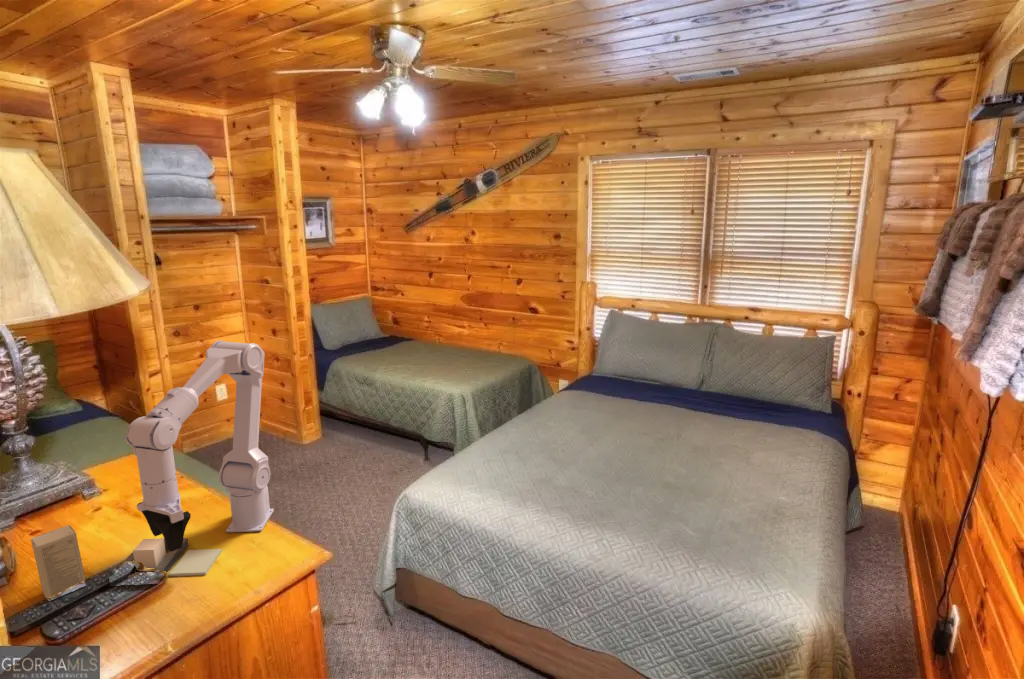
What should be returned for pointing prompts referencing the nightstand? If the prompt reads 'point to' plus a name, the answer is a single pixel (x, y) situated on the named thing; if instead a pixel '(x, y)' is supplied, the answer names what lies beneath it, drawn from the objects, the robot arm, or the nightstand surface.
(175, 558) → the dark brown rectangular frame
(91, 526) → the nightstand surface
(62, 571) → the skincare box
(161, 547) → the peg
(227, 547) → the nightstand surface
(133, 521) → the nightstand surface
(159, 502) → the robot arm
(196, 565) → the tile
